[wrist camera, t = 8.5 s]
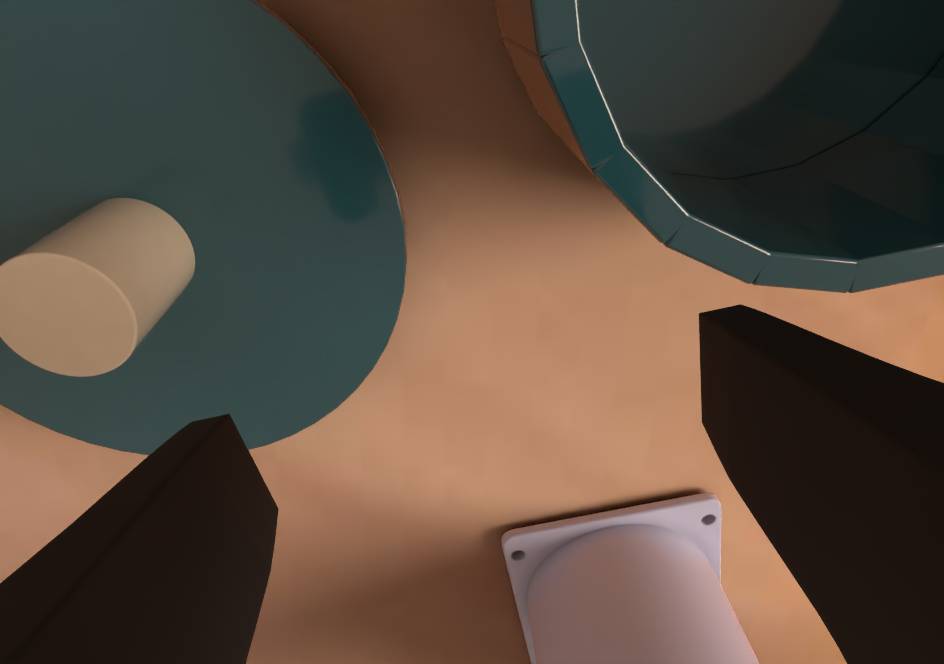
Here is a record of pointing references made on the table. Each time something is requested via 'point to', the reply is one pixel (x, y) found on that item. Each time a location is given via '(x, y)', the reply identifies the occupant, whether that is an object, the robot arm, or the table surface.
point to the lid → (185, 222)
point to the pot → (754, 127)
